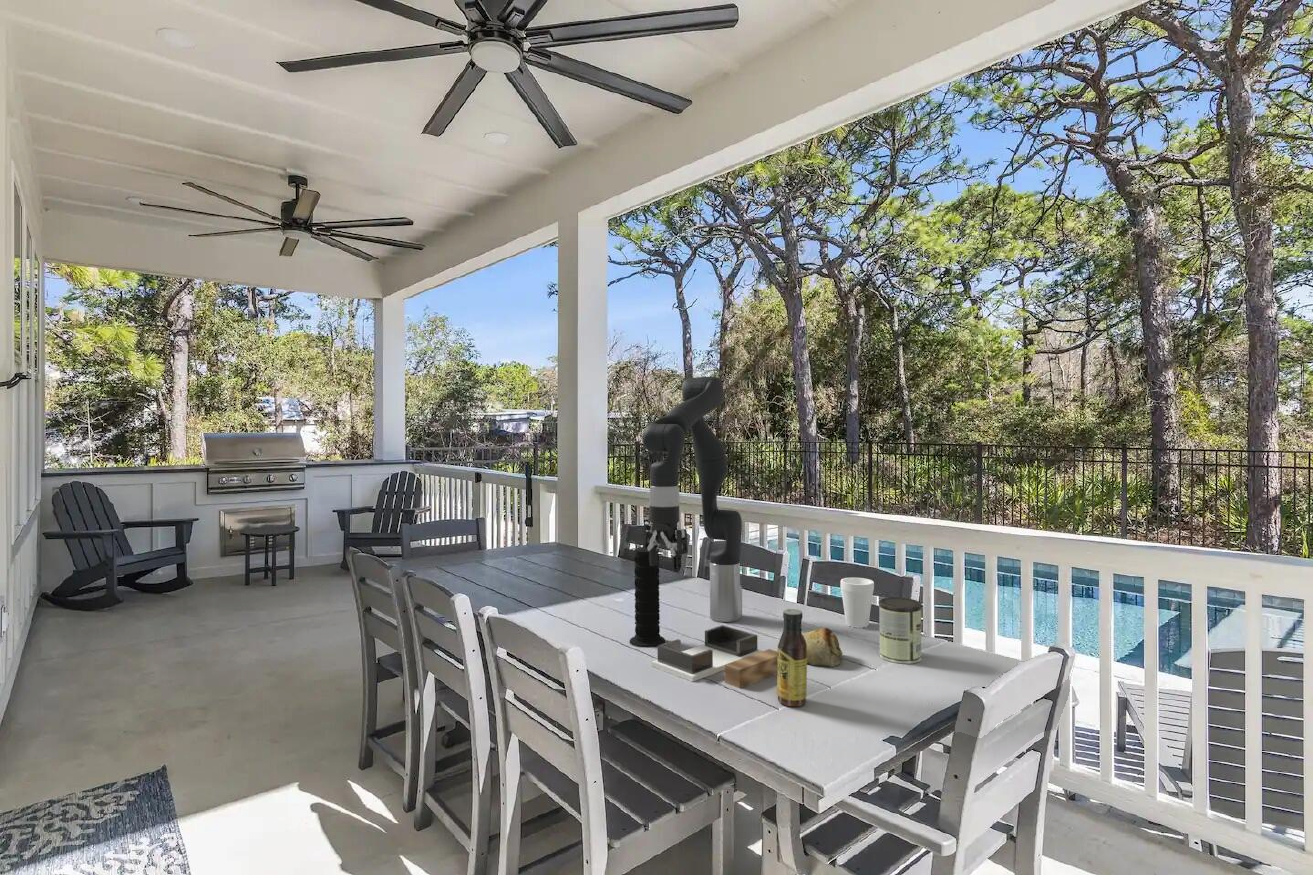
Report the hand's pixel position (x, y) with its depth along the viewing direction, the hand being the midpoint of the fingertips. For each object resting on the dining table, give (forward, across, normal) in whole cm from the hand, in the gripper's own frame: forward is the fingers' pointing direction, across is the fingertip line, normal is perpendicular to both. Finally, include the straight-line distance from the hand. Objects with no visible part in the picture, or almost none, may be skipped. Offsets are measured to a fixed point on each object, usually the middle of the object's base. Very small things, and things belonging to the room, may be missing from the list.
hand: (664, 568), depth 172 cm
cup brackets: (+22, -7, -9) cm, 25 cm away
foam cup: (+24, -15, -62) cm, 69 cm away
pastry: (+24, -24, -30) cm, 46 cm away
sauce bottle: (+24, -37, -4) cm, 44 cm away
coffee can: (+24, -38, -47) cm, 64 cm away
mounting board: (+24, -7, -9) cm, 26 cm away
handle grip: (+24, +15, -7) cm, 29 cm away
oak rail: (+24, -22, -9) cm, 34 cm away
